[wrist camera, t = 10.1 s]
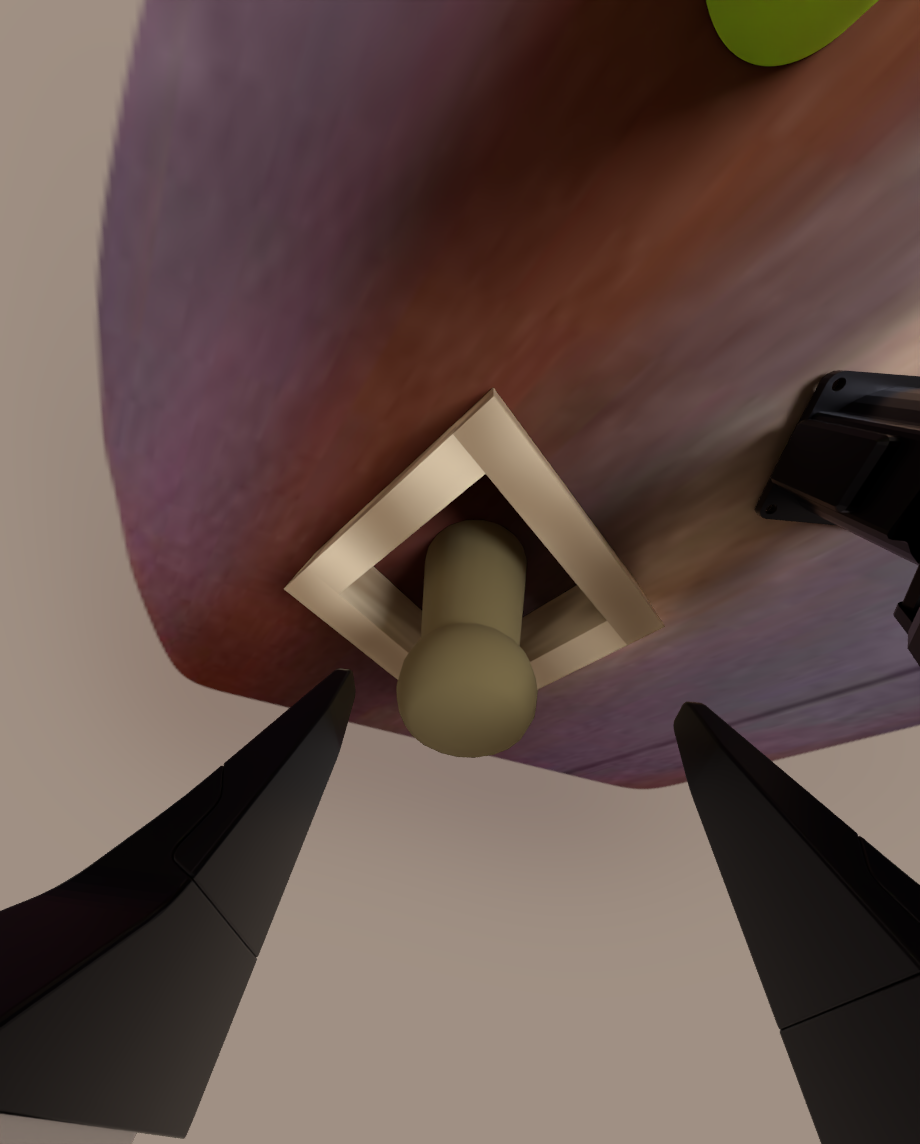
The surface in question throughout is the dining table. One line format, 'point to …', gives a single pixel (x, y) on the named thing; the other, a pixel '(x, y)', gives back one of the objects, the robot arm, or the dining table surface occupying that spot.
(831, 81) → the dining table surface
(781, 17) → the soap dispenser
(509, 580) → the olive round-headed peg
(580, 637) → the socket block
